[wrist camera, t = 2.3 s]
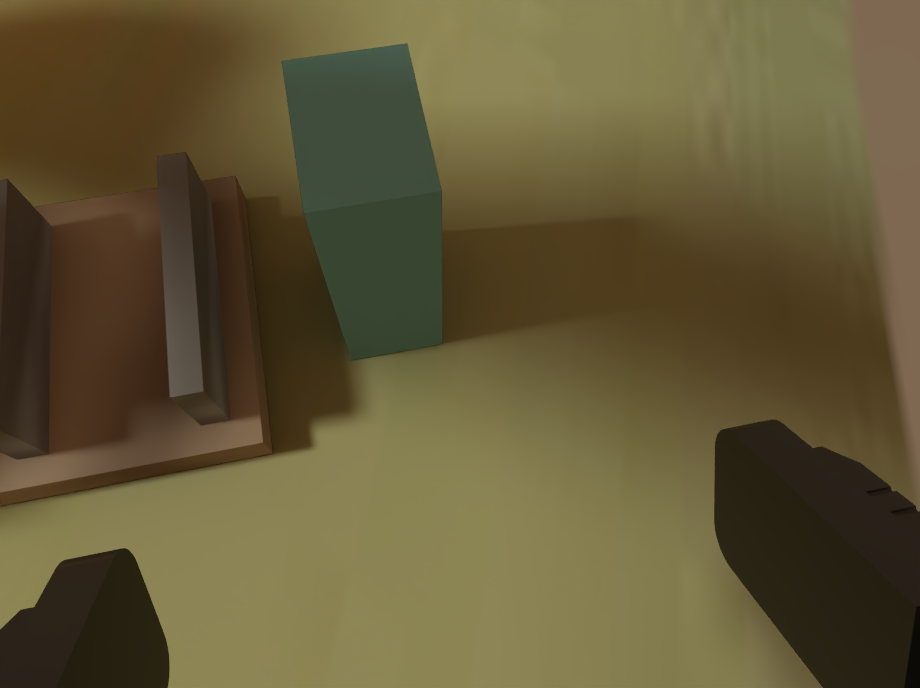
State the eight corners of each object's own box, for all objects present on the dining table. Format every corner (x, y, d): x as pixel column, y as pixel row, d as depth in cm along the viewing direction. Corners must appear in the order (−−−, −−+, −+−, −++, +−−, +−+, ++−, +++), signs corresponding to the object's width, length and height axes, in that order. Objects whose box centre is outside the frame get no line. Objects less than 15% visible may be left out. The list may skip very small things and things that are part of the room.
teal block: (351, 360, 27) (303, 213, 18) (333, 246, 29) (281, 60, 20) (442, 343, 27) (441, 191, 18) (418, 232, 29) (407, 43, 20)
